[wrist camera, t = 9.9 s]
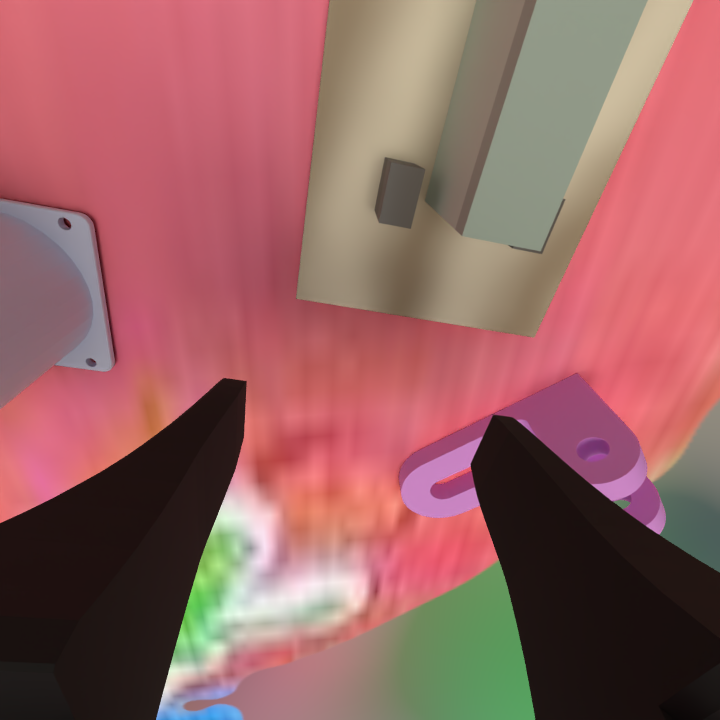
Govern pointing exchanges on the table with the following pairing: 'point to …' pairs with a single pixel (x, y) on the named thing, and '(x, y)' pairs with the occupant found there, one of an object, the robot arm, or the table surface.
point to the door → (525, 112)
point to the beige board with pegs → (415, 165)
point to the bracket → (559, 433)
